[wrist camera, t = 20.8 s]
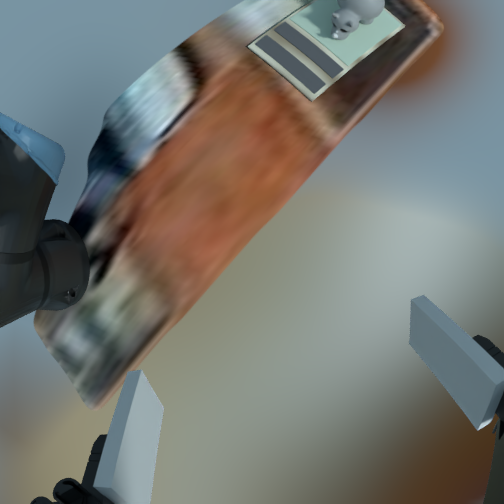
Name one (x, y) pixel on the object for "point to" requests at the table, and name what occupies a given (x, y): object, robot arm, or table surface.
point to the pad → (358, 42)
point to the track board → (308, 61)
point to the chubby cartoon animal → (354, 16)
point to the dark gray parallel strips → (293, 63)
